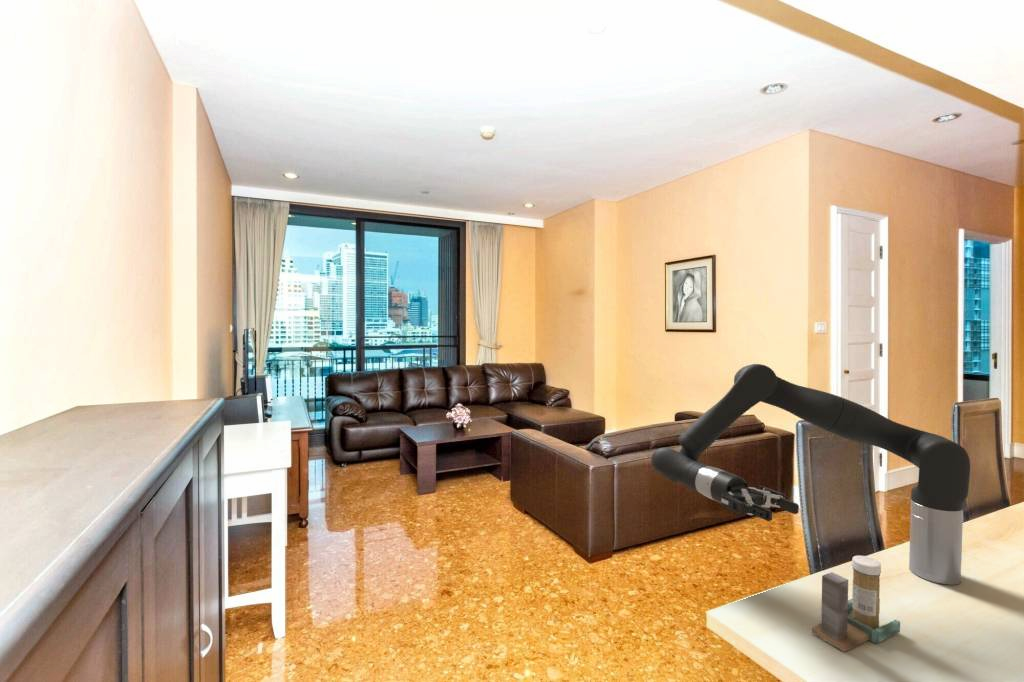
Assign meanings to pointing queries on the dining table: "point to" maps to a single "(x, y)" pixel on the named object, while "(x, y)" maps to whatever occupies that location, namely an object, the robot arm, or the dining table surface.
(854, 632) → the stand
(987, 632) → the dining table surface
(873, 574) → the sprinkles bottle
